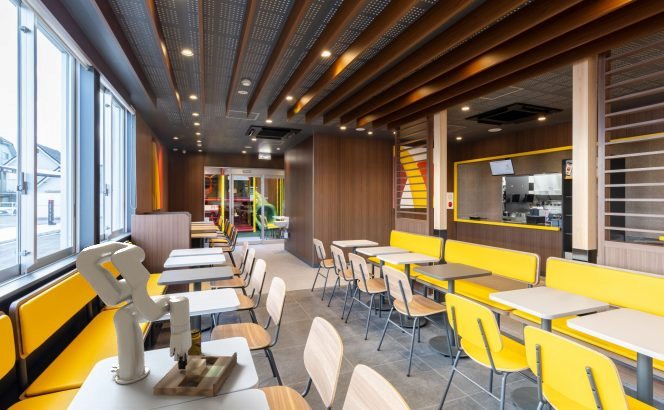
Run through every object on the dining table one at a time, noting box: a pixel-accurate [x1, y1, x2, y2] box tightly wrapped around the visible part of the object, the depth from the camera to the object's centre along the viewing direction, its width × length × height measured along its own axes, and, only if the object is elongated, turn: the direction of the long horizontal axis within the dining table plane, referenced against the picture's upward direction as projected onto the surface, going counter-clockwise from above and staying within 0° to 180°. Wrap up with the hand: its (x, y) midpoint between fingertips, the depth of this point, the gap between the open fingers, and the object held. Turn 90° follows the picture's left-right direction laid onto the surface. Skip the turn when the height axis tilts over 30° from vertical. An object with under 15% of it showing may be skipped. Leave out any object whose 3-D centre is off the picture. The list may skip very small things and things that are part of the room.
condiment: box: [188, 328, 204, 356], centre depth 159 cm, size 7×8×12 cm
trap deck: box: [153, 351, 238, 397], centre depth 141 cm, size 25×24×5 cm
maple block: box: [186, 359, 206, 375], centre depth 141 cm, size 6×6×4 cm
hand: (182, 368), depth 141 cm, fingers closed
